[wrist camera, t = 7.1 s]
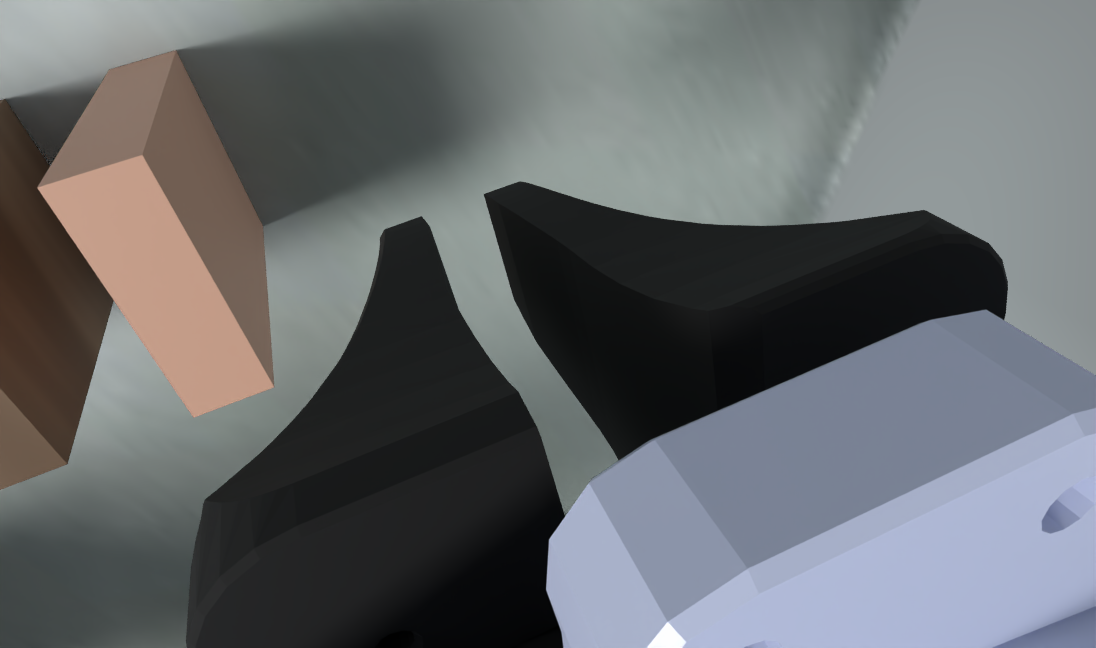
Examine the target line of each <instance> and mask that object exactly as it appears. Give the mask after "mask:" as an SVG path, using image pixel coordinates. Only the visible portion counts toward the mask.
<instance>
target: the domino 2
mask: <svg viewBox="0 0 1096 648" xmlns="http://www.w3.org/2000/svg"><path fill="white" fill-rule="evenodd" d="M37 188H38V190H39V191H40V193H41V194H42V195H43V197H44V198H45V200H46V201H47V203H48V204H49V206H50V207H51V209H52V210H53V212H54V213H55V215H56V216H57V218H58V219H59V220H60V222H61V223H62V225H63V226H64V228H65V229H66V231H67V232H68V234H69V235H70V237H71V238H72V240H73V241H74V243H75V244H76V245H77V247H78V248H79V250H80V251H81V253H82V254H83V256H84V257H85V259H86V260H87V262H88V263H89V265H90V266H91V268H92V269H93V270H94V272H95V273H96V275H97V276H98V278H99V279H100V281H101V282H102V284H103V285H104V287H105V288H106V290H107V291H108V293H109V294H110V295H111V297H112V298H113V300H114V301H115V303H116V304H117V306H118V307H119V309H120V310H121V312H122V313H123V315H124V316H125V318H126V319H127V320H128V322H129V323H130V325H131V326H132V328H133V329H134V331H135V332H136V334H137V335H138V337H139V338H140V340H141V341H142V343H143V344H144V345H145V347H146V348H147V350H148V351H149V353H150V354H151V356H152V357H153V359H154V360H155V362H156V363H157V365H158V366H159V368H160V369H161V370H162V372H163V373H164V375H165V376H166V378H167V379H168V381H169V382H170V384H171V385H172V387H173V388H174V390H175V391H176V393H177V394H178V395H179V397H180V398H181V400H182V401H183V403H184V404H185V406H186V407H187V409H188V410H189V412H190V413H191V415H192V416H193V418H194V417H196V416H199V415H202V414H204V413H207V412H210V411H212V410H215V409H218V408H220V407H223V406H226V405H228V404H231V403H234V402H236V401H239V400H242V399H244V398H247V397H250V396H252V395H255V394H258V393H260V392H263V391H266V390H268V389H271V388H274V376H273V362H272V348H271V334H270V320H269V305H268V291H267V277H266V263H265V249H264V235H263V225H262V223H261V221H260V219H259V217H258V215H257V213H256V211H255V209H254V207H253V205H252V203H251V201H250V199H249V197H248V195H247V193H246V191H245V189H244V187H243V185H242V183H241V181H240V179H239V177H238V175H237V173H236V171H235V169H234V167H233V165H232V163H231V161H230V159H229V157H228V155H227V153H226V151H225V148H224V146H223V144H222V142H221V140H220V138H219V136H218V134H217V132H216V130H215V128H214V126H213V124H212V122H211V120H210V118H209V116H208V114H207V112H206V110H205V108H204V106H203V104H202V102H201V100H200V98H199V96H198V94H197V92H196V90H195V88H194V86H193V84H192V82H191V80H190V78H189V76H188V74H187V71H186V69H185V67H184V65H183V63H182V61H181V59H180V57H179V55H178V53H177V51H176V50H175V51H172V52H168V53H165V54H161V55H158V56H154V57H151V58H147V59H144V60H141V61H137V62H134V63H130V64H127V65H123V66H120V67H116V68H113V69H109V71H108V73H107V74H106V76H105V78H104V79H103V81H102V83H101V84H100V86H99V87H98V89H97V91H96V92H95V94H94V96H93V97H92V99H91V100H90V102H89V104H88V105H87V107H86V109H85V110H84V112H83V114H82V115H81V117H80V118H79V120H78V122H77V123H76V125H75V127H74V128H73V130H72V132H71V133H70V135H69V136H68V138H67V140H66V141H65V143H64V145H63V146H62V148H61V149H60V151H59V153H58V154H57V156H56V158H55V159H54V161H53V163H52V164H51V166H50V167H49V169H48V171H47V172H46V174H45V176H44V177H43V179H42V181H41V182H40V184H39V185H38V187H37Z"/></svg>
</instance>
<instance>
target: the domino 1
mask: <svg viewBox="0 0 1096 648" xmlns="http://www.w3.org/2000/svg"><path fill="white" fill-rule="evenodd" d="M49 167H50V166H49V165H48V163H47V162H46V160H45V159H44V157H43V156H42V154H41V153H40V151H39V150H38V148H37V147H36V145H35V144H34V142H33V141H32V139H31V138H30V136H29V135H28V133H27V132H26V130H25V129H24V127H23V126H22V124H21V123H20V121H19V120H18V118H17V117H16V115H15V114H14V112H13V111H12V109H11V108H10V106H9V105H8V103H7V102H6V100H5V99H3V100H0V490H1V489H4V488H6V487H9V486H11V485H14V484H17V483H19V482H22V481H25V480H27V479H30V478H32V477H35V476H38V475H40V474H43V473H45V472H48V471H51V470H53V469H56V468H59V467H61V466H64V465H66V464H68V460H69V456H70V453H71V449H72V446H73V442H74V439H75V435H76V432H77V428H78V425H79V421H80V418H81V414H82V410H83V407H84V403H85V400H86V396H87V393H88V389H89V386H90V382H91V379H92V375H93V371H94V368H95V364H96V361H97V357H98V354H99V350H100V347H101V343H102V340H103V336H104V333H105V329H106V325H107V322H108V318H109V315H110V311H111V308H112V304H113V301H114V300H113V298H112V297H111V295H110V294H109V293H108V291H107V290H106V288H105V287H104V285H103V284H102V282H101V281H100V279H99V278H98V276H97V275H96V273H95V272H94V270H93V269H92V268H91V266H90V265H89V263H88V262H87V260H86V259H85V257H84V256H83V254H82V253H81V251H80V250H79V248H78V247H77V245H76V244H75V243H74V241H73V240H72V238H71V237H70V235H69V234H68V232H67V231H66V229H65V228H64V226H63V225H62V223H61V222H60V220H59V219H58V218H57V216H56V215H55V213H54V212H53V210H52V209H51V207H50V206H49V204H48V203H47V201H46V200H45V198H44V197H43V195H42V194H41V193H40V191H39V190H38V188H37V187H38V185H39V184H40V182H41V181H42V179H43V177H44V176H45V174H46V172H47V171H48V169H49Z"/></svg>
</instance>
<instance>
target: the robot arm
mask: <svg viewBox="0 0 1096 648" xmlns="http://www.w3.org/2000/svg"><path fill="white" fill-rule="evenodd" d="M484 197H485V200H486V204H487V207H488V211H489V214H490V218H491V221H492V224H493V228H494V231H495V235H496V238H497V242H498V245H499V249H500V252H501V256H502V259H503V263H504V266H505V270H506V273H507V277H508V280H509V284H510V287H511V290H512V294H513V297H514V300H515V302H516V304H517V306H518V308H519V310H520V312H521V314H522V316H523V318H524V319H525V321H526V323H527V325H528V327H529V329H530V331H531V333H532V335H533V336H534V338H535V340H536V342H537V343H538V345H539V346H540V348H541V349H542V351H543V352H544V353H545V355H546V356H547V358H548V359H549V360H550V362H551V363H552V365H553V366H554V367H555V369H556V370H557V372H558V373H559V374H560V376H561V377H562V378H563V380H564V381H565V383H566V384H567V385H568V387H569V388H570V389H571V391H572V392H573V394H574V395H575V396H576V398H577V399H578V400H579V402H580V403H581V405H582V406H583V407H584V409H585V410H586V411H587V413H588V414H589V416H590V417H591V418H592V420H593V421H594V422H595V424H596V425H597V427H598V428H599V429H600V431H601V432H602V434H603V435H604V437H605V438H606V440H607V442H608V443H609V445H610V446H611V448H612V449H613V451H614V453H615V454H616V456H617V458H618V460H619V461H617V462H616V463H614V464H613V465H611V466H610V467H608V468H607V469H605V470H604V471H602V472H601V473H599V474H598V475H596V476H595V477H593V478H592V479H591V481H590V482H589V483H588V485H587V486H586V488H585V489H584V491H583V492H582V493H581V495H580V496H579V498H578V499H577V501H576V502H575V503H574V505H573V506H572V508H571V509H570V511H569V512H568V513H567V515H566V516H565V515H564V512H563V508H562V505H561V502H560V499H559V495H558V492H557V489H556V485H555V482H554V479H553V475H552V472H551V469H550V466H549V462H548V459H547V456H546V452H545V449H544V446H543V442H542V439H541V436H540V434H539V431H538V429H537V426H536V424H535V423H534V421H533V419H532V417H531V415H530V413H529V411H528V409H527V407H526V406H525V404H524V402H523V400H522V398H521V396H520V394H519V392H518V391H517V390H516V389H515V388H514V387H513V386H512V385H511V384H510V383H509V382H508V381H507V380H506V378H505V377H504V376H503V375H502V374H501V372H500V371H499V370H498V369H497V367H496V366H495V365H494V364H493V363H492V361H491V360H490V358H489V357H488V355H487V354H486V352H485V351H484V350H483V348H482V347H481V345H480V344H479V342H478V341H477V339H476V338H475V336H474V335H473V333H472V331H471V330H470V328H469V326H468V325H467V323H466V321H465V320H464V318H463V317H462V315H461V313H460V311H459V309H458V306H457V303H456V301H455V298H454V295H453V292H452V289H451V286H450V283H449V280H448V277H447V275H446V272H445V269H444V266H443V263H442V260H441V257H440V254H439V252H438V249H437V246H436V243H435V240H434V237H433V234H432V231H431V229H430V227H429V225H428V224H427V222H426V221H425V220H424V219H423V217H422V216H421V217H418V218H415V219H413V220H410V221H407V222H404V223H401V224H399V225H396V226H393V227H390V228H387V229H385V230H384V231H383V233H382V235H381V237H380V250H379V257H378V262H377V267H376V271H375V275H374V279H373V282H372V286H371V289H370V293H369V296H368V299H367V302H366V304H365V307H364V309H363V312H362V315H361V317H360V320H359V322H358V325H357V327H356V330H355V332H354V334H353V336H352V338H351V340H350V342H349V344H348V346H347V348H346V350H345V352H344V353H343V355H342V357H341V359H340V360H339V362H338V363H337V365H336V366H335V368H334V369H333V370H332V372H331V373H330V374H329V376H328V377H327V379H326V380H325V381H324V383H323V384H322V385H321V387H320V388H319V389H318V391H317V392H316V394H315V395H314V396H313V398H312V399H311V400H310V401H309V403H308V404H307V405H306V406H305V407H304V408H303V410H302V411H301V412H300V413H299V414H298V415H297V416H296V417H295V419H294V420H293V421H292V422H291V423H290V424H289V425H288V426H287V427H286V428H285V429H284V430H283V431H282V432H281V433H280V434H279V435H278V436H277V437H276V438H275V439H274V440H273V441H272V442H271V443H270V444H269V445H268V446H267V447H266V448H265V449H264V450H263V451H262V452H261V453H260V454H259V455H258V456H256V457H255V458H254V459H253V460H252V461H251V462H249V463H248V464H247V465H246V466H245V467H244V468H242V469H241V470H240V471H239V472H238V473H237V474H235V475H234V476H233V477H232V478H231V479H229V480H228V481H227V482H226V483H225V484H224V485H222V486H221V487H220V488H219V489H218V490H217V491H215V492H214V493H213V494H211V495H210V496H209V497H208V498H206V499H205V501H204V504H203V510H202V516H201V521H200V525H199V529H198V533H197V537H196V542H195V548H194V554H193V560H192V566H191V576H190V591H189V606H188V621H187V636H186V643H187V648H1096V375H1094V374H1093V373H1091V372H1089V371H1088V370H1086V369H1084V368H1083V367H1081V366H1079V365H1078V364H1076V363H1074V362H1073V361H1071V360H1069V359H1068V358H1066V357H1064V356H1063V355H1061V354H1059V353H1058V352H1056V351H1054V350H1053V349H1051V348H1049V347H1048V346H1046V345H1044V344H1043V343H1041V342H1039V341H1037V340H1036V339H1034V338H1033V337H1031V336H1029V335H1028V334H1026V333H1024V332H1023V331H1021V330H1019V329H1017V328H1016V327H1014V326H1013V325H1011V324H1009V323H1008V322H1006V321H1004V318H1005V314H1006V303H1007V291H1008V281H1007V277H1006V274H1005V269H1004V266H1003V261H1002V259H1001V258H1000V257H999V255H998V254H997V253H996V252H995V250H994V249H993V248H992V247H991V245H990V244H989V243H987V242H985V241H983V240H981V239H979V238H978V237H975V236H974V235H972V234H970V233H968V232H966V231H964V230H962V229H960V228H958V227H956V226H954V225H952V224H951V223H949V222H947V221H945V220H943V219H941V218H939V217H937V216H935V215H933V214H931V213H929V212H928V211H925V210H921V211H914V212H907V213H900V214H893V215H886V216H878V217H872V218H864V219H857V220H850V221H842V222H831V223H816V224H802V225H780V226H742V225H714V224H700V223H692V222H684V221H675V220H667V219H660V218H654V217H649V216H644V215H639V214H635V213H630V212H625V211H621V210H616V209H613V208H609V207H605V206H601V205H598V204H594V203H590V202H587V201H584V200H580V199H577V198H574V197H571V196H568V195H564V194H561V193H558V192H555V191H552V190H549V189H546V188H543V187H540V186H536V185H533V184H529V183H526V182H517V183H514V184H511V185H508V186H505V187H503V188H500V189H497V190H494V191H491V192H489V193H486V194H484Z"/></svg>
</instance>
